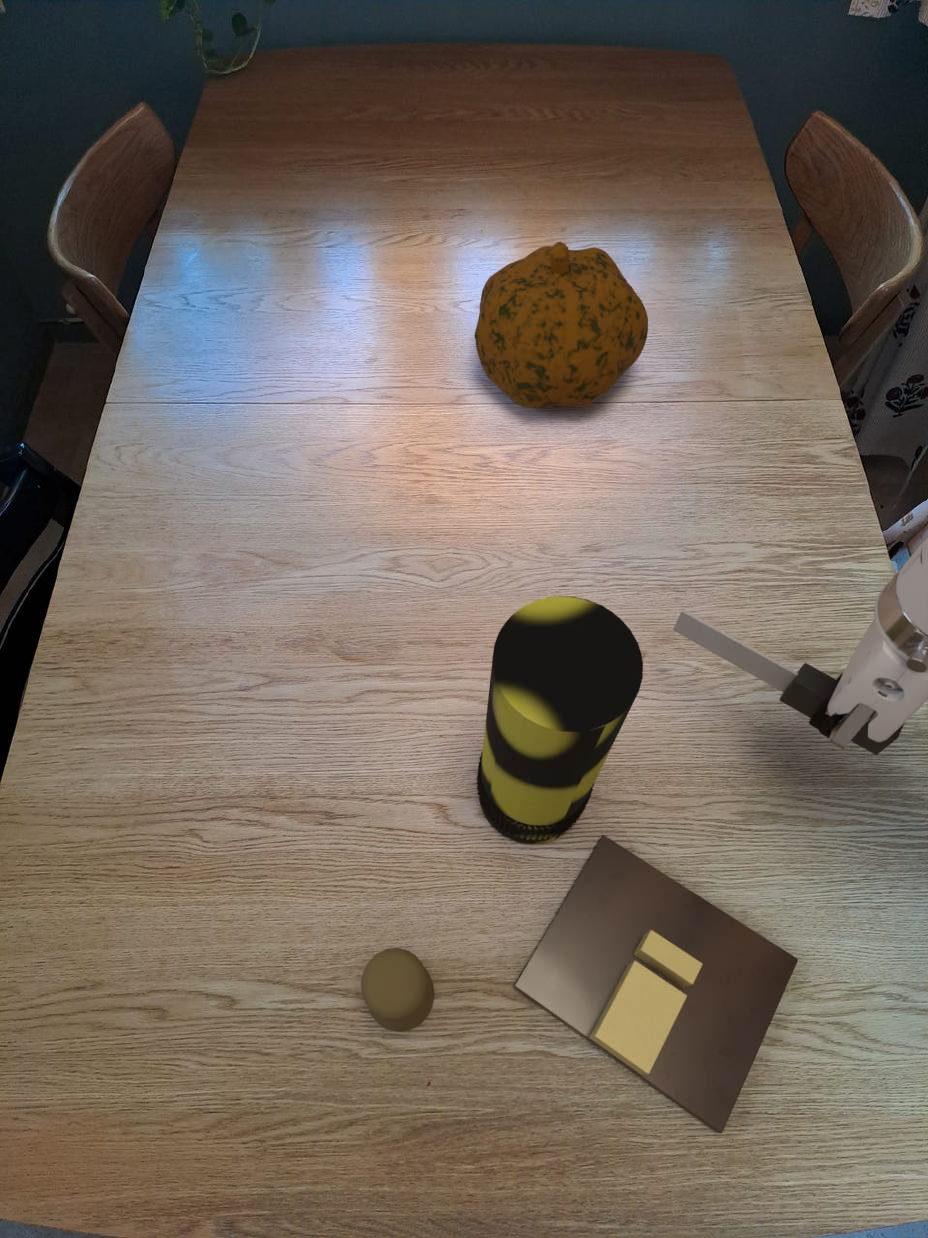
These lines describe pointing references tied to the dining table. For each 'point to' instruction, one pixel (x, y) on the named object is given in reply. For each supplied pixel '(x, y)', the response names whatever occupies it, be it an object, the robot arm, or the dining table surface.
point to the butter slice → (668, 959)
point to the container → (553, 713)
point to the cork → (397, 990)
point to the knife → (774, 674)
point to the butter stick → (638, 1017)
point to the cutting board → (662, 976)
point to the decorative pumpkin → (559, 327)
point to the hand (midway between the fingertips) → (833, 717)
